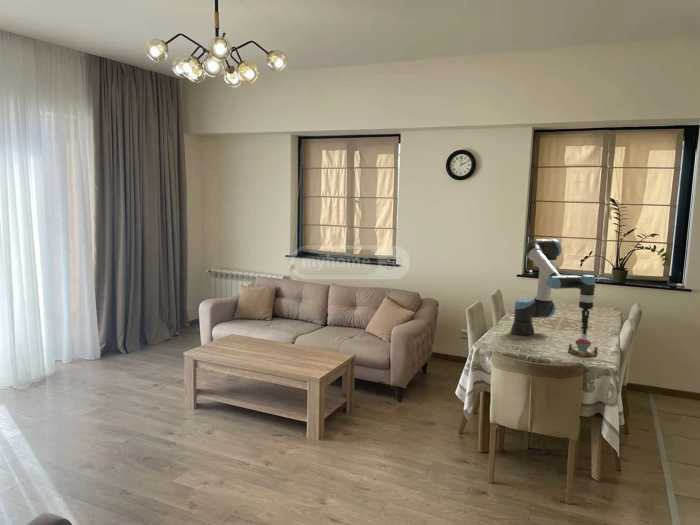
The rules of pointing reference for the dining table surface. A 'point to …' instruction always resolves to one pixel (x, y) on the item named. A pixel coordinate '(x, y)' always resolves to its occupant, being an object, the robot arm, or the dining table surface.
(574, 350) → the plate
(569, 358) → the dining table surface
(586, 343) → the cupcake
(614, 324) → the dining table surface
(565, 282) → the robot arm
